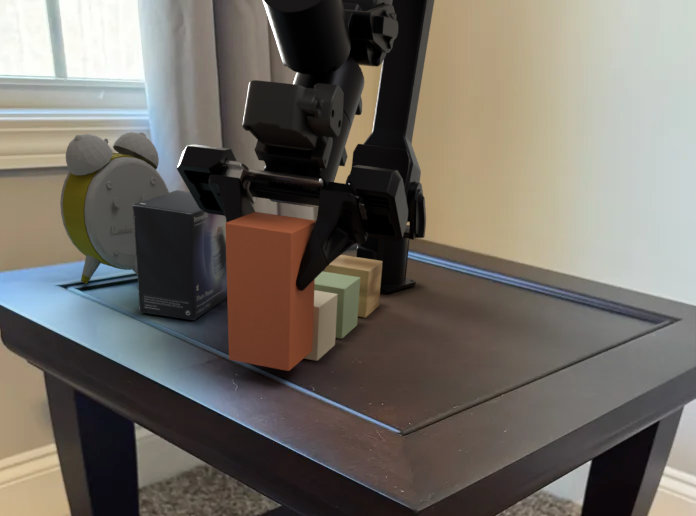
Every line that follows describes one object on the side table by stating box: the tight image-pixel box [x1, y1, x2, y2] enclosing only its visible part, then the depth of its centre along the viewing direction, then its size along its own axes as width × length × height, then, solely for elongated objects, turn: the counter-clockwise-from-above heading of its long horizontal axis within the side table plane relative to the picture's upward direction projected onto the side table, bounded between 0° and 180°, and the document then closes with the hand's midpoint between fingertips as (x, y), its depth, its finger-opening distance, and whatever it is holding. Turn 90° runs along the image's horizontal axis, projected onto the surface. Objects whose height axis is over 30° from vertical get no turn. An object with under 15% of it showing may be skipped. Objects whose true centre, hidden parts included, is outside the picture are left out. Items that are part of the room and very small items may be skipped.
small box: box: [132, 189, 227, 321], centre depth 80 cm, size 11×6×10 cm, turn 168°
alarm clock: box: [60, 131, 170, 285], centre depth 84 cm, size 12×7×15 cm, turn 144°
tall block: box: [225, 211, 316, 372], centre depth 64 cm, size 6×6×11 cm
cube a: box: [324, 254, 382, 318], centre depth 85 cm, size 5×5×5 cm
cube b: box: [314, 270, 360, 340], centre depth 78 cm, size 5×5×5 cm
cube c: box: [304, 290, 338, 362], centre depth 72 cm, size 5×5×5 cm
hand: (264, 282), depth 62 cm, fingers closed on tall block, 5 cm apart
